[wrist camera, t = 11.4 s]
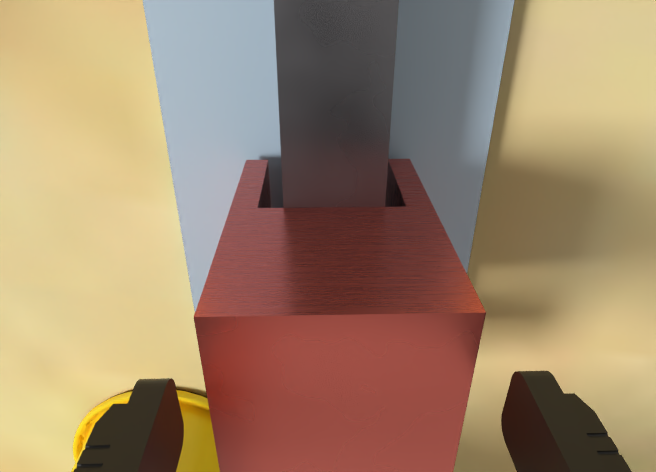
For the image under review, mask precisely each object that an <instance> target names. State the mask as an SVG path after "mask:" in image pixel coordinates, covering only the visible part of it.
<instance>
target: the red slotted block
mask: <svg viewBox="0 0 656 472" xmlns="http://www.w3.org/2000/svg"><path fill="white" fill-rule="evenodd" d="M485 315H486V312H485V310H484V308H483V306H482V304H481V302H480V300H479V298H478V295H477V293H476V291H475V289H474V287H473V285H472V283H471V281H470V279H469V277H468V275H467V273H466V271H465V269H464V267H463V265H462V263H461V261H460V259H459V257H458V255H457V253H456V251H455V249H454V247H453V245H452V243H451V241H450V239H449V237H448V235H447V233H446V231H445V229H444V227H443V225H442V223H441V221H440V219H439V217H438V215H437V213H436V211H435V209H434V207H433V205H432V203H431V201H430V199H429V197H428V195H427V192H426V190H425V188H424V186H423V184H422V182H421V180H420V178H419V176H418V174H417V172H416V170H415V168H414V166H413V164H412V162H411V160H410V159H388V171H387V185H386V200H385V207H312V208H271V197H270V180H269V164H268V160H246V162H245V165H244V168H243V171H242V174H241V177H240V180H239V183H238V186H237V189H236V192H235V195H234V198H233V201H232V204H231V207H230V210H229V213H228V216H227V219H226V222H225V225H224V228H223V231H222V234H221V237H220V240H219V243H218V246H217V249H216V252H215V255H214V258H213V261H212V264H211V267H210V270H209V273H208V276H207V279H206V282H205V285H204V288H203V291H202V294H201V297H200V300H199V303H198V306H197V309H196V312H195V315H194V322H195V328H196V334H197V339H198V345H199V351H200V357H201V363H202V369H203V375H204V381H205V387H206V393H207V399H208V404H209V410H210V416H211V422H212V428H213V434H214V440H215V446H216V452H217V458H218V464H219V470H220V472H453V469H454V465H455V460H456V455H457V450H458V445H459V440H460V436H461V431H462V426H463V421H464V416H465V411H466V407H467V402H468V397H469V392H470V387H471V382H472V378H473V373H474V368H475V363H476V358H477V353H478V349H479V344H480V339H481V334H482V329H483V324H484V320H485Z"/></svg>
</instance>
